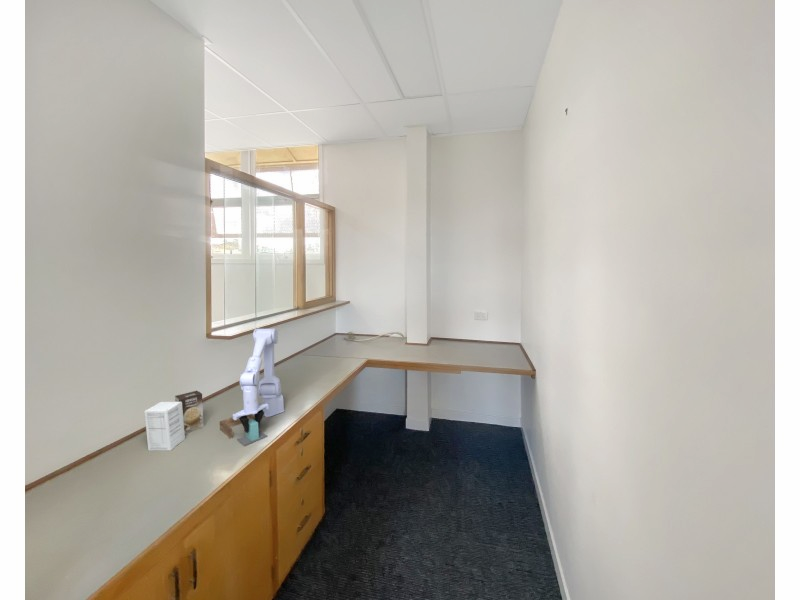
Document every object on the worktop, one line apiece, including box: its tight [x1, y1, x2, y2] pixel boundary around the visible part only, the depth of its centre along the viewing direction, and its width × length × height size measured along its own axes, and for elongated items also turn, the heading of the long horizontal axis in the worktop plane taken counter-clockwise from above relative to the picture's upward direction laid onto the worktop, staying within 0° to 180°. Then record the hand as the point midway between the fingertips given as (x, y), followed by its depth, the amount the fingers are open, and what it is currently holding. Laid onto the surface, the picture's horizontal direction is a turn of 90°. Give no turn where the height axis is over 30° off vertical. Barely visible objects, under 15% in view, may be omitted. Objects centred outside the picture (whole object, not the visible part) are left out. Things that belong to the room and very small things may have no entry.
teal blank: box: [244, 418, 259, 441], centre depth 141 cm, size 3×6×7 cm, turn 49°
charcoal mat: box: [236, 429, 268, 447], centre depth 141 cm, size 10×7×1 cm
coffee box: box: [174, 390, 205, 434], centre depth 148 cm, size 9×6×16 cm
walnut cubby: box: [219, 414, 260, 439], centre depth 149 cm, size 13×11×4 cm
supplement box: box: [144, 401, 186, 452], centre depth 135 cm, size 10×9×17 cm
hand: (252, 429), depth 141 cm, fingers open, 4 cm apart
